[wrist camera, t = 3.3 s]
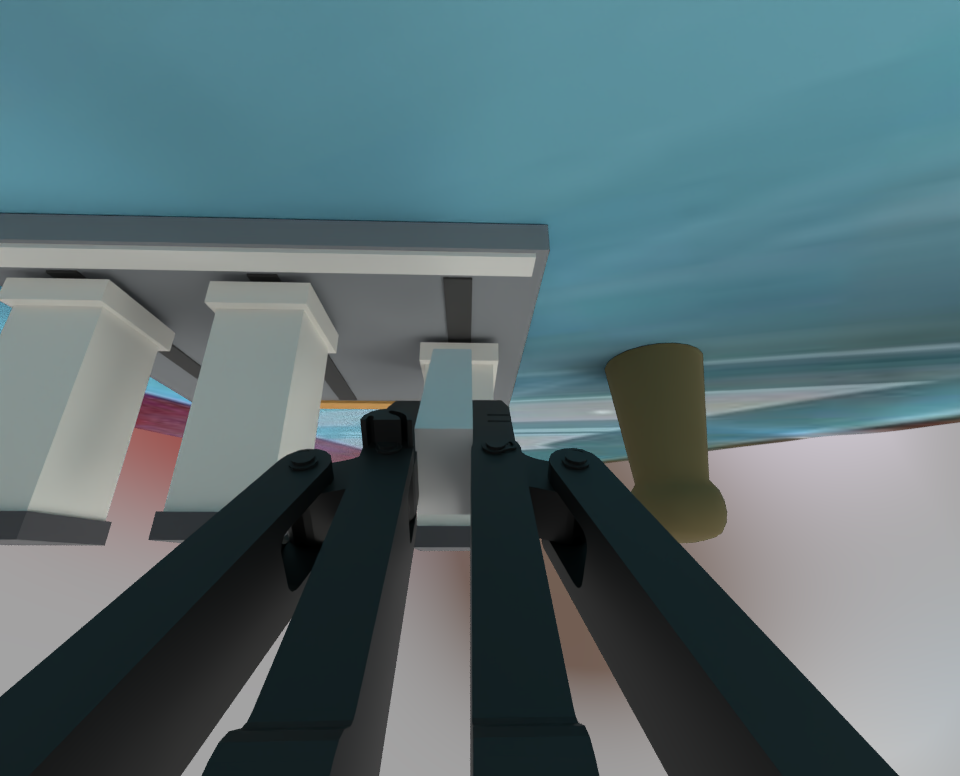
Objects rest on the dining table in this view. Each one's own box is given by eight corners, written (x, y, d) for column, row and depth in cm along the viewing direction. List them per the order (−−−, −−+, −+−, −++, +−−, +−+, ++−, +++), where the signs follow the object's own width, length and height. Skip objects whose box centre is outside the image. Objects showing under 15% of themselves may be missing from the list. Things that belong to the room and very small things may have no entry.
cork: (693, 378, 31) (725, 544, 27) (604, 385, 32) (622, 545, 28) (713, 337, 26) (757, 538, 22) (605, 349, 27) (627, 539, 23)
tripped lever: (493, 377, 27) (495, 551, 23) (427, 376, 27) (418, 550, 23) (498, 343, 23) (501, 547, 19) (420, 342, 23) (408, 546, 19)
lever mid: (338, 335, 22) (309, 546, 18) (257, 334, 22) (211, 545, 18) (309, 282, 18) (265, 539, 14) (209, 281, 18) (138, 539, 14)
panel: (507, 394, 34) (508, 411, 33) (201, 390, 33) (197, 408, 33) (548, 225, 17) (549, 254, 17) (-64, 211, 17) (-81, 241, 16)
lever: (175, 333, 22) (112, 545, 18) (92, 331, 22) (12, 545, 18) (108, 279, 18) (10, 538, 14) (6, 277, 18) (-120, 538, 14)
